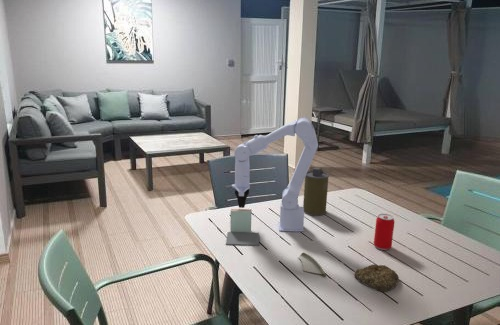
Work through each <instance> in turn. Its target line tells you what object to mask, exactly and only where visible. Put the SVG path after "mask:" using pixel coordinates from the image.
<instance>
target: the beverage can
mask: <svg viewBox="0 0 500 325" xmlns="http://www.w3.org/2000/svg"><path fill="white" fill-rule="evenodd" d="M374 228H375V229H374V238H373V246H374V247H376V248H377V249H379V250H382V251H387V250H390V249H391V248H392V245H393V238H394V228H395V219H394V216H393V215H391V214H387V213H379V214H378V215H377V217H376V220H375V227H374Z"/></svg>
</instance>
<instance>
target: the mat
mask: <svg viewBox="0 0 500 325" xmlns="http://www.w3.org/2000/svg"><path fill="white" fill-rule="evenodd" d="M225 245H226V246H260V232H252V231H251V232H230V231H227V236H226V242H225Z"/></svg>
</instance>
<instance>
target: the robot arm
mask: <svg viewBox="0 0 500 325" xmlns="http://www.w3.org/2000/svg"><path fill="white" fill-rule="evenodd" d="M315 129H316V128H315V126H314V125H313V123H312V122H311V120H310V119H309V118H307V117H304V116H303V117H299V118H298V119H296V120H295V119H294V120H292V121H290V122H288V123H286V124H284V125H282V126H281V127H279V128H277V129H276V130H275V129H274V130H273V131H272V132H270V133H269V134H266V135H262V134H259V135H258V134H255V135H254V136H253V138H252V139H249V140H248V141H247V140H245V141H242V142H243V143H240V144H238V145H237V147H236V148H235V150H234V153H233V154H234V158H235V160H234V161H235V163H234V184H231V187H232V188H233V189H234V195H235V196H236V199H237V205H238V209H244V208H245V206H246V201H247V198H248V196H249V194H250V188H251V187H250V186H251V185H250V177H251V176H250V175H251V174H250V169H251V168H250V166H251V164H250V156H254V155H256V154H259V153H260V152H262V151H264V150H267V149H268V147H269V144H271V143H273V142H275V141H277V140H280V139H281V138H284V137H286V136H291V137H295V135H296V136H297V137H298V138H299V139H300V140H301V141H302V143H303V146H304V147H303V149H302V152H301V154H300V157H299V159H298V161H297V164H296V166H295V169H294V171H293V174H292V176H291V178H290V181H289V183H288V185H287V187H286V188H284V189H283V190H282V193H281V194H282V198H281V203H280V205H279V206H280V207H279V208H280V209H279V210H280V212H279V221H278V222H277V225H278V231H279V232H304V223H305V222H304V221H305V219H304V218H305V213H304V208H303V206H299V196H300V193H301V188H302V185H303V184H304V182H305V176H306V174H307V172H308V171H309V169H310V167H311V164H312V161H313V159H314V157H315V155H316V152H317V150H318V148H319V143H318V138H317V135H316V130H315Z"/></svg>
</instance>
